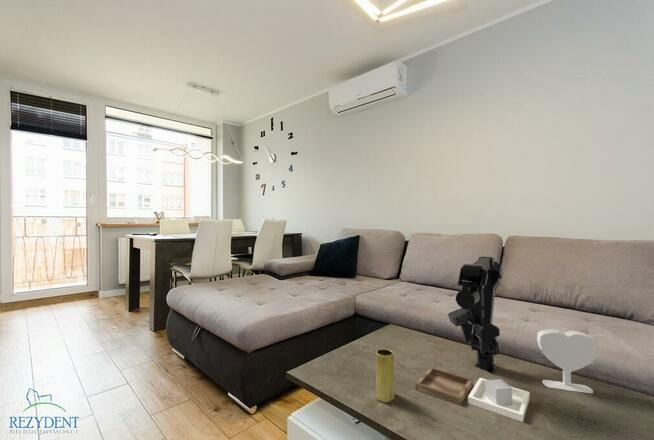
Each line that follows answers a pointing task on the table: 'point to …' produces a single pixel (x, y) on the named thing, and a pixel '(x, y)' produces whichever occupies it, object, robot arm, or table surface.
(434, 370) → the walnut tray
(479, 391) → the cream tray
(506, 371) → the table surface
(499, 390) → the stone block
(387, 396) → the vase
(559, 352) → the heart sculpture
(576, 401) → the table surface
